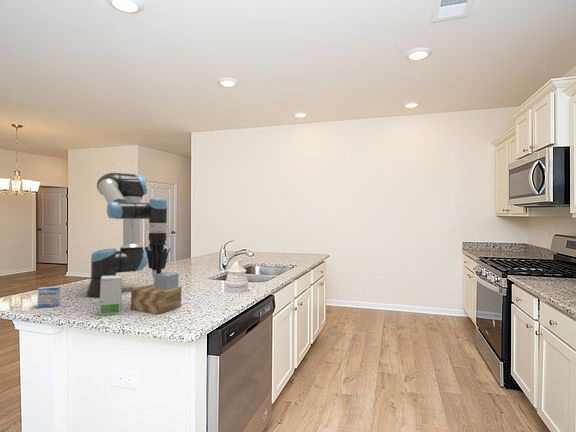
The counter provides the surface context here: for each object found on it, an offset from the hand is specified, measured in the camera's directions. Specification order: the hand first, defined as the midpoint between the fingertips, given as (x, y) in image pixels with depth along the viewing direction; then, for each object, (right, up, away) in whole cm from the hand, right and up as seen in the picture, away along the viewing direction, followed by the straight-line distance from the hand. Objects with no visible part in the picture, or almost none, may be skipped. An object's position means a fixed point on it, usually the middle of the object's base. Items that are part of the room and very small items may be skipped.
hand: (156, 284), depth 153 cm
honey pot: (+31, -12, +37) cm, 50 cm away
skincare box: (-17, -11, -8) cm, 21 cm away
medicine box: (-49, -10, 0) cm, 50 cm away
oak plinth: (0, -11, 0) cm, 11 cm away
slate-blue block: (+5, -2, -2) cm, 6 cm away
